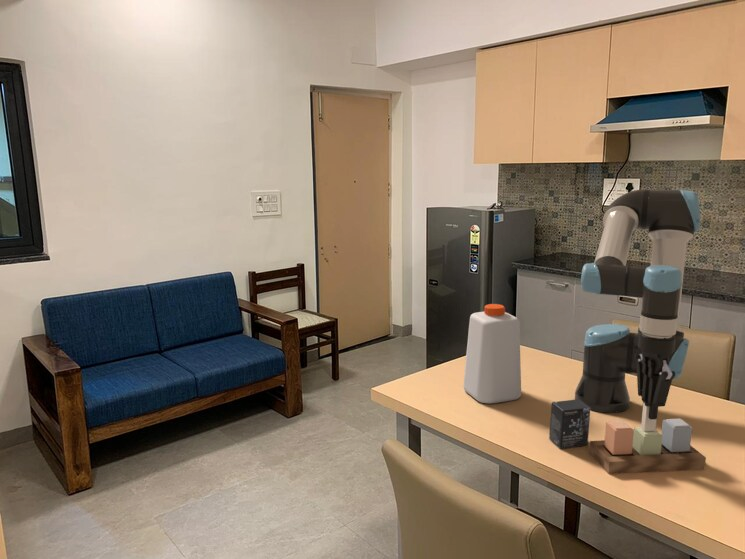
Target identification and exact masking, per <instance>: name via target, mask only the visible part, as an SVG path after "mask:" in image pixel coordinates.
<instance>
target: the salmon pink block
mask: <svg viewBox="0 0 745 559" xmlns="http://www.w3.org/2000/svg"><path fill="white" fill-rule="evenodd" d="M633 434H634V428H632V427H631V426H630V425H629V424H627V422H626V421H625V420H615V421H614V420H613V421H611V420H609V421H607V422H605V432H604V440H605V442H604V446H605V447H606V448H607V449H608V450H609V451H610V452H611V453H612V454H613V455H616V454H632V445H633Z"/></svg>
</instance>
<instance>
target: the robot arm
mask: <svg viewBox="0 0 745 559" xmlns="http://www.w3.org/2000/svg"><path fill="white" fill-rule="evenodd" d="M699 199H700V198H699V194H698V193H697V192H696V191H694V190H685V189H635V190H631V191H628V192H626V193H625V194H622V195H620V196H618V197H617V198H616V199H614V200H613V201H612V202H611V203H610V204H609V205H608V206H607V207H606V209H605V212H604V214H603V218H602V224H603V231H602V234H601V238H600V241H599V244H598V248H597V252H596V255H595V259H594V262H591V263H587V262H586V263H585V264H584V265H583V266H582V270H581V277H580V287H581V290H582V291H583V292H585V293H588V294H589V293H590V294H596V295H606V296H607V295H608V296H617V297H618V296H619V297H628V298H629V297H630V298H640V299H641V298H642V302H641V312H640V318H639V319H640V320H639V326H638V328H637V332H630V331H631V330H630V328H629V327H628V326H627V325H623V324H618V323H617V324H616V323H608V324H607V323H606V324H597V325H593V326H591V327H590V328H588V329H587V330H586V332H585V338H584V342H583V345H584V349H583V350H584V352H583V363H582V364H583V365H582V375H581V377H580V380H579V382H578V384H577V386H576V389H575V392H574V400H575V399H579V400H580V401H582V402H583V403H585V404H586V405H587V406H589V407H590V408H591V409H590V411H594V412H600V413H608V414H609V413H610V414H612V413H613V414H614V413H621V412H624V411H625V412H626V411H627V410H628V409H629V408H630V404H631V403H630V402H631V397H630V395H629V389H628V388H627V387H628V386H627V383H626V374H632V375H636V377H637V378H636V382H637V384H636V385H637V395H638V397H641V401H642V402H643V403H642V413H641V426H640V427H641V429H642V430H644V431H655V430H656V428H657V419H658V412H659V407H665V406H666V404H667V400H668V396H669V394H670V390H671V385H672V382H673V380H677V379H679V378H681V376H682V373H683V369H684V365H685V362H686V358H687V355H688V354H687V353H688V351H689V345H690V340H689V339H688V338H686V337H685V332H684V330H683V329H682V328H681V327H680V316H681V315H680V313H681V305H682V304H681V303H682V293H683V292H682V291H683V284H684V283H683V282H684V274H685V273H684V272H685V263H686V252H687V243H688V242H689V241H691V240H693V238H694V234H695V233H698V232H700V230H701V229H700V228H701V213H700V212H701V211H700V200H699ZM636 230H646V231H647V230H648V232H647V237H649V238H650V239H651V240H652V251H651V258H650V266H647V267H646V266H634V265H633V266H632V265H627V261H628V257H629V256H628V255H629V251H630V247H631V242H632V238H633V237H632V236H633V234H634V231H636ZM684 337H685V338H684ZM656 431H657V430H656Z"/></svg>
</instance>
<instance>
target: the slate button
mask: <svg viewBox="0 0 745 559" xmlns="http://www.w3.org/2000/svg"><path fill="white" fill-rule="evenodd" d="M692 433H693V427H692V426H691V425H689V423H687V422H686V421H684V420H683V419H682V418H667V419H663V420H662V425H661V432H660V434H661V435H662V444H663V445H664V446H665V447H666V448H667V449H668V450H669V451H671V452H683V451H690V445H691V444H692V443H691V441H692Z"/></svg>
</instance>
